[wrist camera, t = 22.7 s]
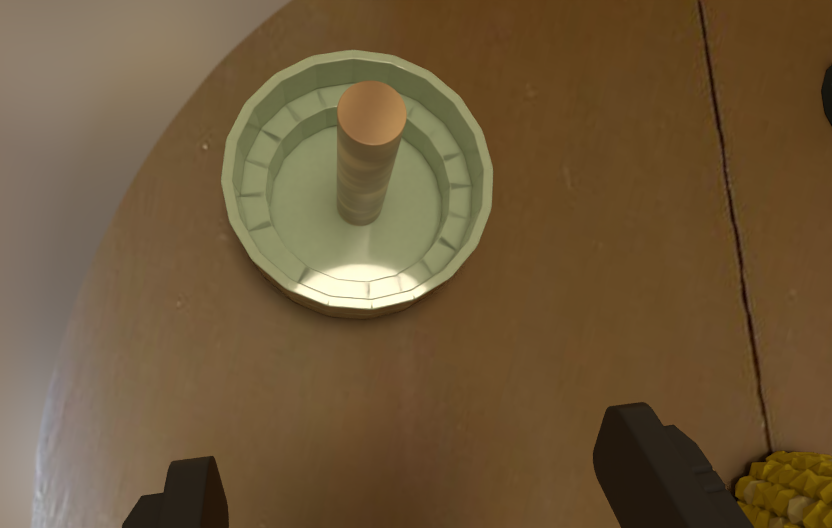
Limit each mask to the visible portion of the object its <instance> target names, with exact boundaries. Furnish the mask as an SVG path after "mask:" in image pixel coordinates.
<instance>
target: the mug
mask: <svg viewBox="0 0 832 528" xmlns="http://www.w3.org/2000/svg"><path fill="white" fill-rule="evenodd" d="M822 96H823V103H824V109H825V113H826V115H827V117H828V119H829V121H830V123H831V125H832V65H831V66H830V67H829V69H828V70H827V71H826V75H825V79H824V83H823V87H822Z"/></svg>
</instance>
